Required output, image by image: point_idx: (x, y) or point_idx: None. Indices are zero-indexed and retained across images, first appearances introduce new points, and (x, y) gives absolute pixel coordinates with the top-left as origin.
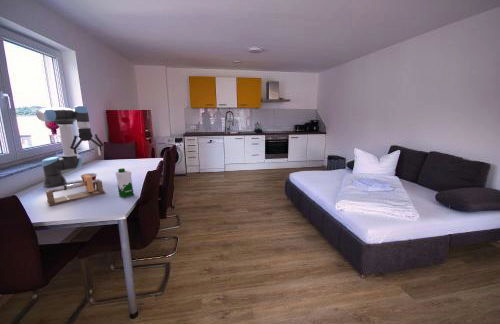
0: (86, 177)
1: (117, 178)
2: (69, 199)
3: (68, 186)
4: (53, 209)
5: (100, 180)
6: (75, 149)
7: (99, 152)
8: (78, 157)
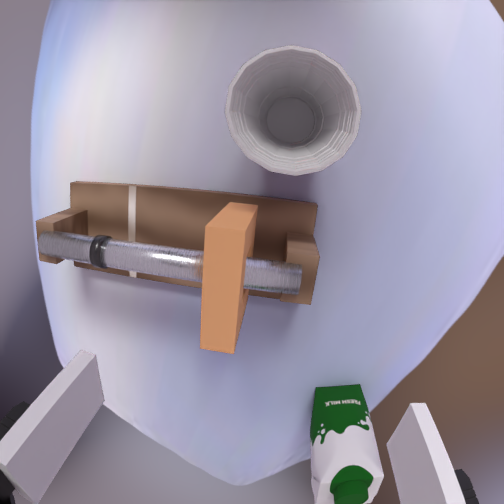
0: (200, 338)
1: (313, 470)
2: (136, 276)
3: (114, 267)
4: (88, 310)
5: (315, 275)
6: (8, 483)
7: (400, 485)
8: (93, 407)
